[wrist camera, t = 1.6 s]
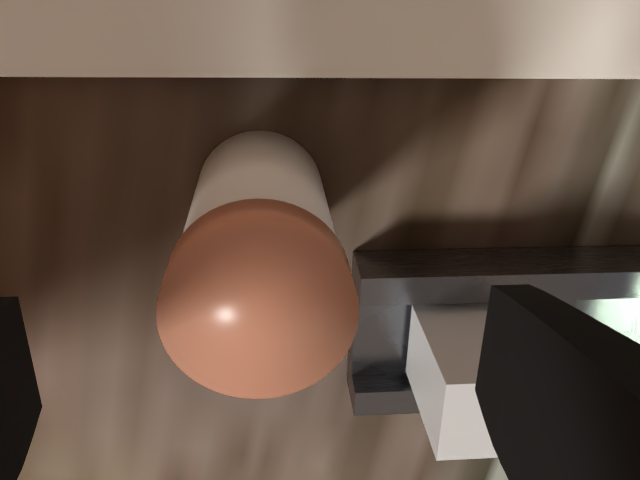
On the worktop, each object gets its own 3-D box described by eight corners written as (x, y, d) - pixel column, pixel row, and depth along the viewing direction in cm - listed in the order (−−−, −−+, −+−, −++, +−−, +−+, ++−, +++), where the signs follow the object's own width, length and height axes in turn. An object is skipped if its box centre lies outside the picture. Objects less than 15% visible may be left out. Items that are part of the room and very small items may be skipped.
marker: (198, 250, 16) (165, 402, 11) (189, 126, 15) (145, 227, 9) (324, 248, 17) (355, 394, 11) (327, 126, 15) (363, 223, 10)
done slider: (405, 371, 17) (436, 460, 14) (412, 304, 16) (446, 384, 13) (487, 368, 18) (535, 455, 14) (498, 302, 17) (552, 380, 14)
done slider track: (347, 380, 19) (359, 441, 16) (352, 251, 17) (367, 298, 14) (627, 369, 19) (677, 426, 17) (661, 244, 18) (723, 289, 15)
